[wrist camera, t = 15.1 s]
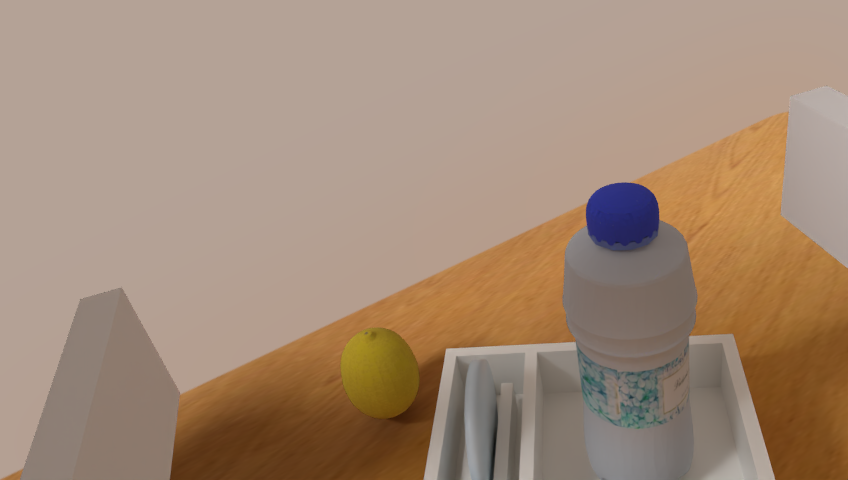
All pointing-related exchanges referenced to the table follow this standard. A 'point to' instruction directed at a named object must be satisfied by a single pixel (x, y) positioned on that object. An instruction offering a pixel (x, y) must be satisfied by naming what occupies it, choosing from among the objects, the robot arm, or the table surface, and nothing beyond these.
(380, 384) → the lemon
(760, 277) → the table surface
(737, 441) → the divided tray
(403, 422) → the table surface
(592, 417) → the bottle
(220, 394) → the table surface
